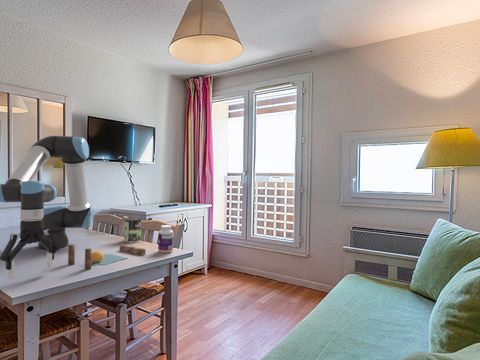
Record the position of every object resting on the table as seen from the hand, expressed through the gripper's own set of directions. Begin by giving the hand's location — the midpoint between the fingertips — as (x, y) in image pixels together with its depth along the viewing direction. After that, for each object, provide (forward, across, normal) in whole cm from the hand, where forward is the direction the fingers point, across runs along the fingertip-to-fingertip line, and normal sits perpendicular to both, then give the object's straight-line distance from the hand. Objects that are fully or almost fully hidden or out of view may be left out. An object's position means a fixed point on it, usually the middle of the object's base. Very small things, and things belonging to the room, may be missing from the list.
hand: (31, 272), depth 117 cm
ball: (0, +28, 0) cm, 28 cm away
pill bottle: (+3, +62, -13) cm, 63 cm away
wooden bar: (+3, +50, 0) cm, 50 cm away
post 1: (+3, +20, +6) cm, 21 cm away
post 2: (+3, +20, -6) cm, 21 cm away
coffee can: (+3, +69, +22) cm, 72 cm away
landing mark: (+3, +34, 0) cm, 34 cm away
